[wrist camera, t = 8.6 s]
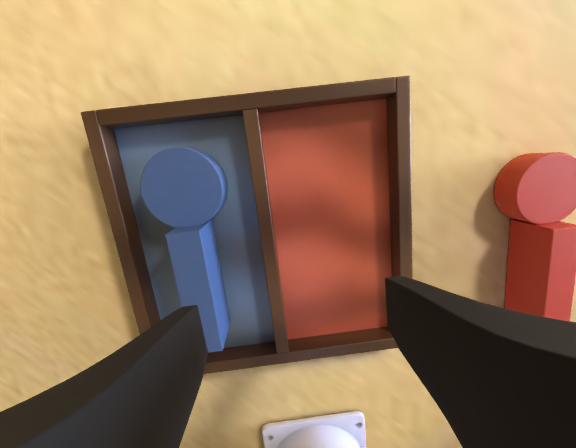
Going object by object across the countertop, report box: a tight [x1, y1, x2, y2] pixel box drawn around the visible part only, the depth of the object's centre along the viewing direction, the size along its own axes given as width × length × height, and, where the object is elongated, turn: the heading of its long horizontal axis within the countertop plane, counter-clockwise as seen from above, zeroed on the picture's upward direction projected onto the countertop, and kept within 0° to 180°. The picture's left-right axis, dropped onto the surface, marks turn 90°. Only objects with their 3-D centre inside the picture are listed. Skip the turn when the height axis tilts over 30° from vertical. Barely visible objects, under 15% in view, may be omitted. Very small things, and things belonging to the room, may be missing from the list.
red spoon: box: [494, 153, 576, 321], centre depth 18 cm, size 12×4×3 cm, turn 6°
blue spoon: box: [140, 147, 231, 353], centre depth 16 cm, size 12×4×3 cm, turn 7°
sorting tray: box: [81, 76, 412, 374], centre depth 17 cm, size 17×17×2 cm
